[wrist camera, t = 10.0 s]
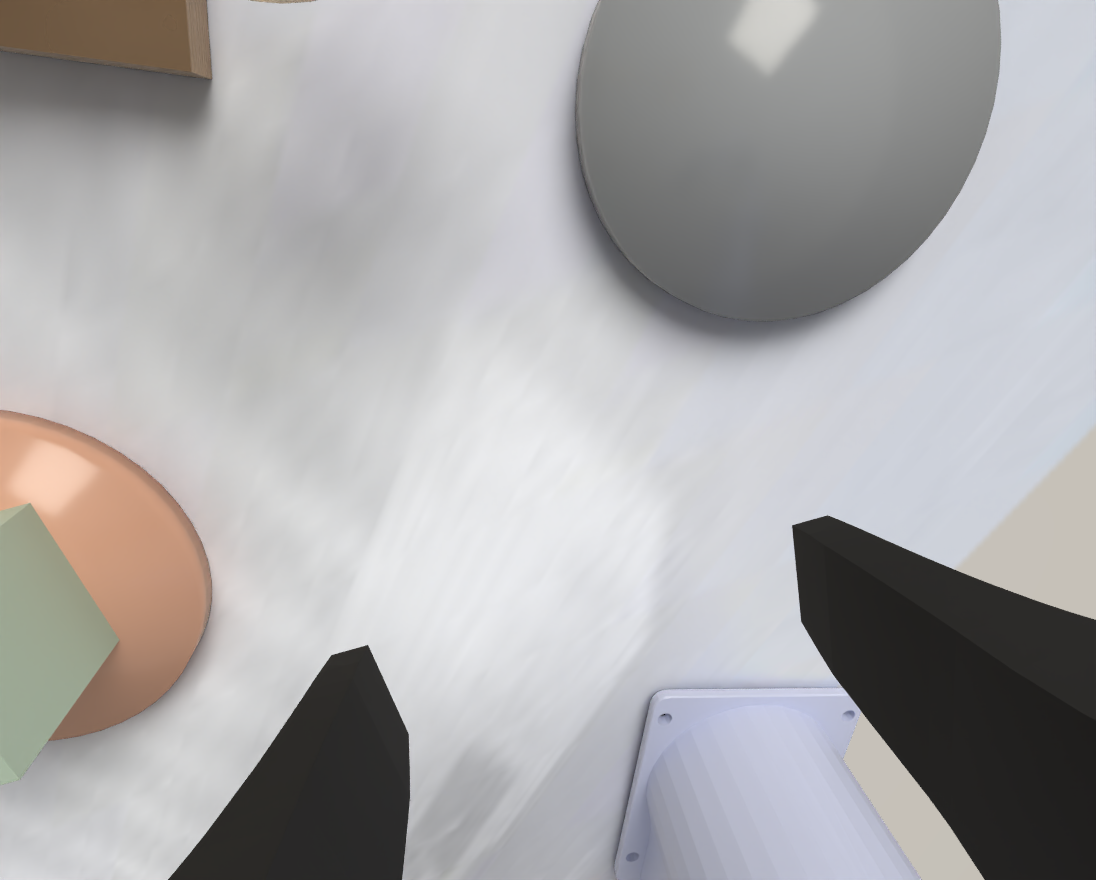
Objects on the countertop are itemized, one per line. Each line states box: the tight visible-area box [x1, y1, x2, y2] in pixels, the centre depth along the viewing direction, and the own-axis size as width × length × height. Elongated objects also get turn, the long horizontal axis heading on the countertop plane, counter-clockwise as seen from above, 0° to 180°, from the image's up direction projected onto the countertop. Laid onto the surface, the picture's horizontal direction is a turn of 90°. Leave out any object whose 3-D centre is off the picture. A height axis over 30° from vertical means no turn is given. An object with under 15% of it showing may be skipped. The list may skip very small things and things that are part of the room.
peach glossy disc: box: [0, 410, 212, 741], centre depth 17 cm, size 10×10×1 cm
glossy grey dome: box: [575, 0, 1001, 321], centre depth 15 cm, size 10×10×1 cm
